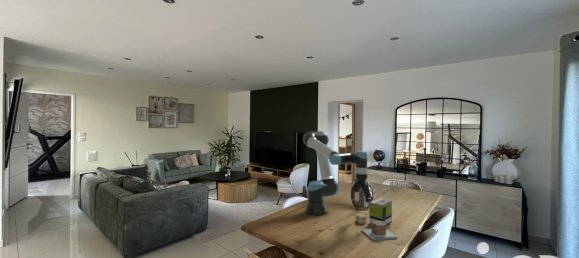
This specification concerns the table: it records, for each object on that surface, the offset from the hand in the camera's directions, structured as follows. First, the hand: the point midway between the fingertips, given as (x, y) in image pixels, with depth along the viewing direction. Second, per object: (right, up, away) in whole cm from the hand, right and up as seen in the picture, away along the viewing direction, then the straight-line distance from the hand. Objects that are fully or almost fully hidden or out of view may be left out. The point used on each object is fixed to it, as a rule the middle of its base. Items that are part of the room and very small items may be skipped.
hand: (361, 203), depth 175 cm
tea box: (+14, -13, +1) cm, 19 cm away
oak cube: (0, -13, 0) cm, 13 cm away
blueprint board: (+5, -13, -20) cm, 24 cm away
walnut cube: (+5, -12, -20) cm, 24 cm away
